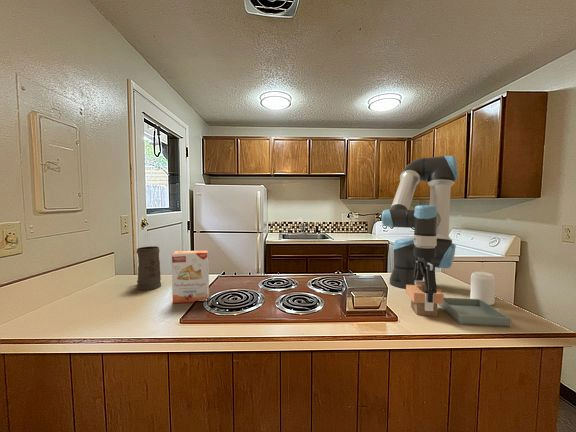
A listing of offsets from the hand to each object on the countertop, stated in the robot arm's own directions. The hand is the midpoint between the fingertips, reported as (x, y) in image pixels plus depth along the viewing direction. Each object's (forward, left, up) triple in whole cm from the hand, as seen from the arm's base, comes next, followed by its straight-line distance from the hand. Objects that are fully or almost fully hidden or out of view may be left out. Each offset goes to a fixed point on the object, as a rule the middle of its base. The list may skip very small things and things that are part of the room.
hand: (423, 305), depth 102 cm
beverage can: (-13, +27, -3) cm, 30 cm away
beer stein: (-15, -125, -3) cm, 126 cm away
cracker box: (+1, -93, -3) cm, 93 cm away
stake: (0, 0, -2) cm, 2 cm away
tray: (+1, +16, -2) cm, 16 cm away
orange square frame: (0, 0, +3) cm, 3 cm away
